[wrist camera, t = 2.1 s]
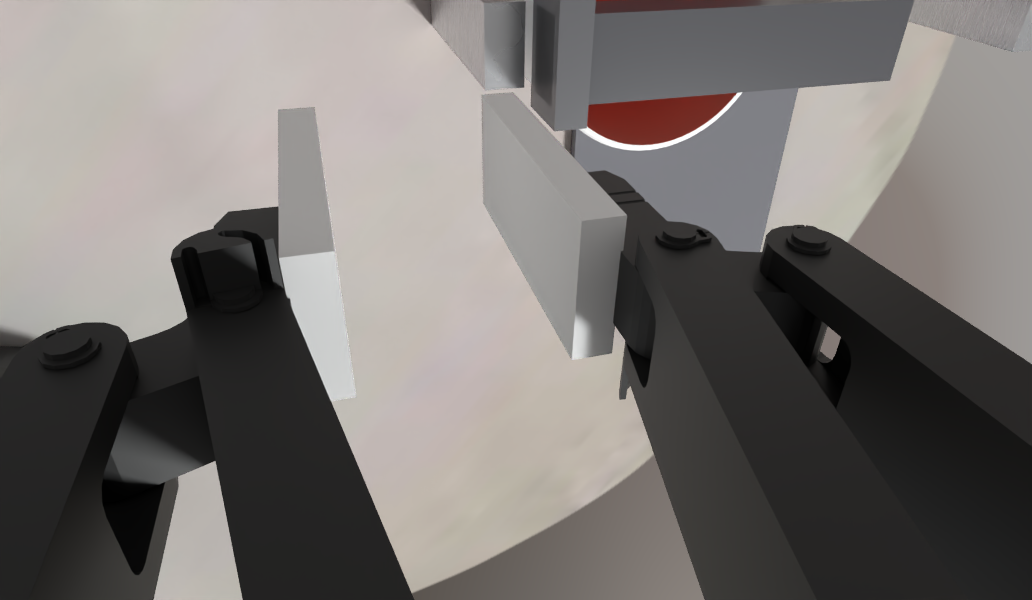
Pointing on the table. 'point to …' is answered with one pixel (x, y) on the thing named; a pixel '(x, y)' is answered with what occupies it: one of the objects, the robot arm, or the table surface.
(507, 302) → the table surface
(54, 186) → the table surface
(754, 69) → the bar
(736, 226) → the mat
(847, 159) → the table surface
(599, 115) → the cup
